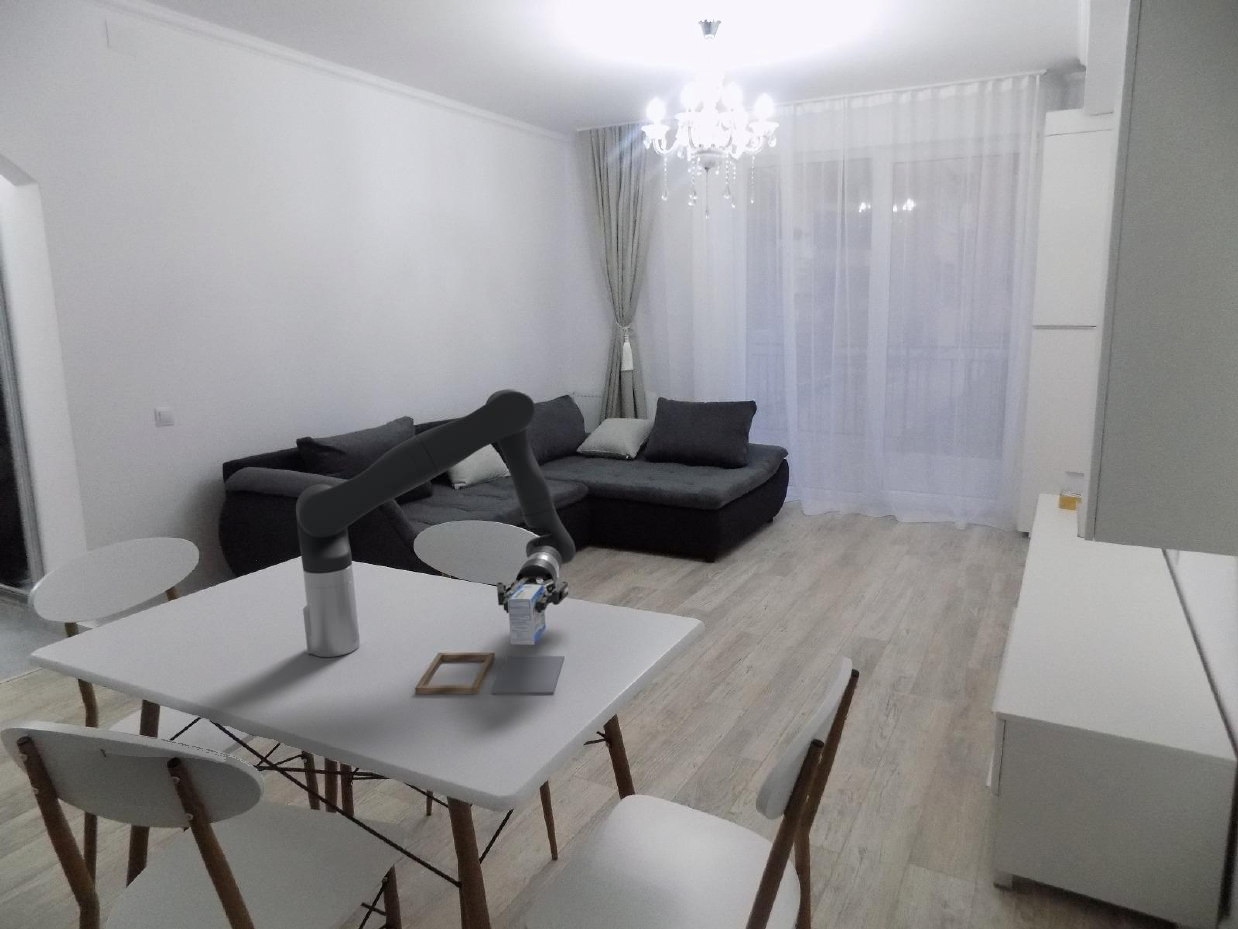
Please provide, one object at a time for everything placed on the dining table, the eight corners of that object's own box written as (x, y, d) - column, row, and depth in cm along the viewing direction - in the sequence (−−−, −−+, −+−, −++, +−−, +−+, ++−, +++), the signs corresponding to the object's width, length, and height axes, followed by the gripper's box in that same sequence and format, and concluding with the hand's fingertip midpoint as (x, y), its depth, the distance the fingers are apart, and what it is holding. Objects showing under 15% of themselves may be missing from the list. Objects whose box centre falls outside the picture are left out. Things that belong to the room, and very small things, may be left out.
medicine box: (534, 646, 146) (531, 599, 144) (510, 645, 147) (507, 598, 145) (546, 628, 154) (543, 584, 152) (523, 627, 155) (520, 583, 153)
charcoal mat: (491, 694, 145) (490, 692, 145) (507, 658, 159) (507, 656, 159) (553, 694, 144) (553, 692, 144) (564, 658, 159) (564, 656, 159)
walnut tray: (415, 694, 146) (414, 687, 145) (438, 658, 160) (438, 652, 160) (477, 694, 145) (476, 687, 145) (494, 658, 160) (494, 652, 159)
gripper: (501, 558, 163) (482, 588, 146) (573, 557, 162) (562, 587, 145) (503, 594, 164) (485, 628, 148) (575, 593, 163) (564, 627, 147)
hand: (523, 607), depth 147 cm, fingers closed on medicine box, 5 cm apart
